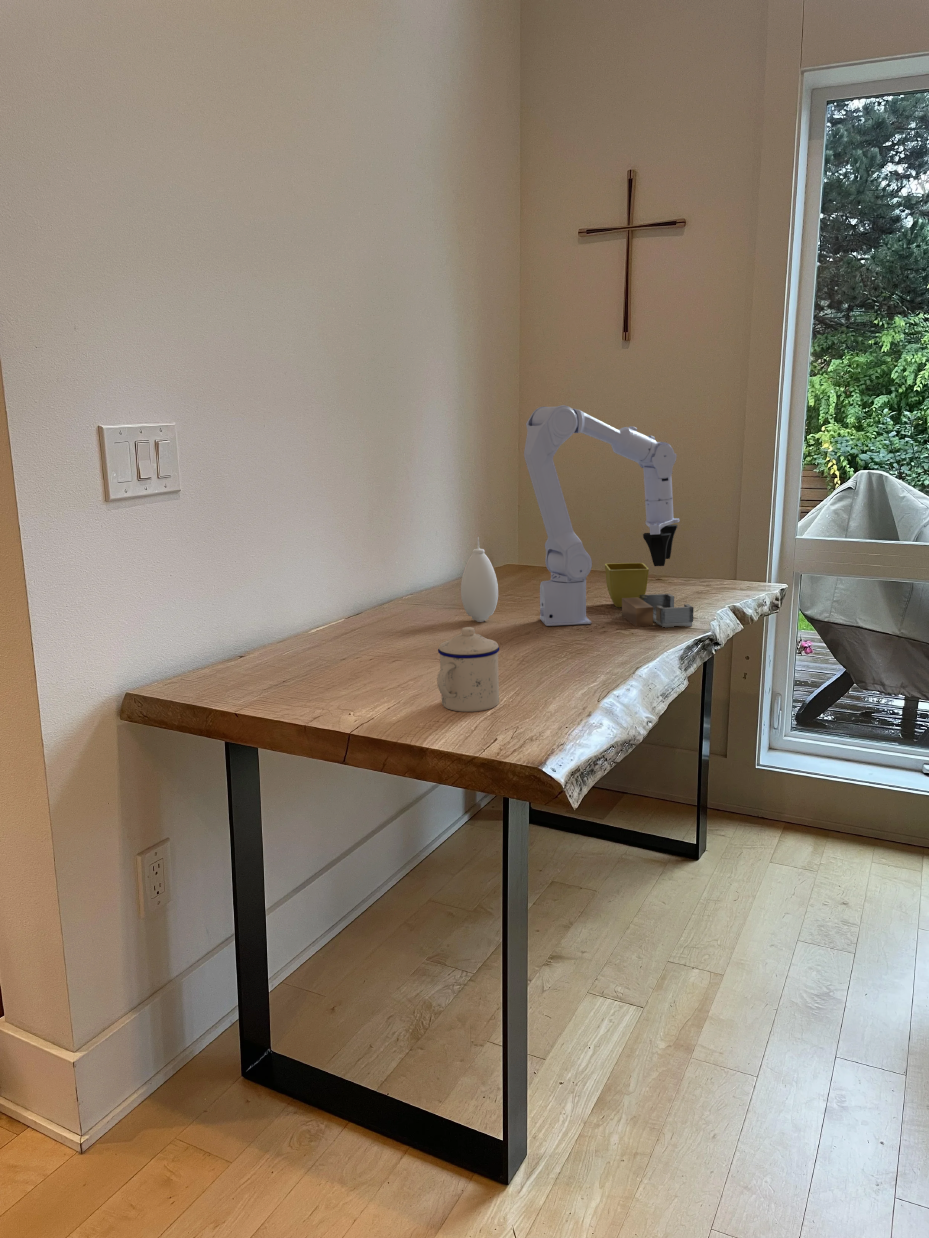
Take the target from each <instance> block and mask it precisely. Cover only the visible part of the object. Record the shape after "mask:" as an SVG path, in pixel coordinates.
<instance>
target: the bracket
mask: <svg viewBox="0 0 929 1238" xmlns="http://www.w3.org/2000/svg"><path fill="white" fill-rule="evenodd" d="M639 598H640V599H641V600H643V601H644V602H646V603H647V604H649V605H651V606H652V607H653V623H655V622H656V623H655V624H657V625H658V626H660V627H661V626H662V627H661V628H663V627H665V628H675V627H674V626H685V627H692V626H693V623H694V606H692V605H690V603H689V604H688V603H686V604H685V603H684V604H683V605H684V606H676V607H675V595H673V594H671V593H655V594H654V593H652V594H651V593H650V594H645V595H640V597H639Z"/></svg>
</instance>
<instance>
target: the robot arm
mask: <svg viewBox="0 0 929 1238" xmlns="http://www.w3.org/2000/svg"><path fill="white" fill-rule="evenodd" d="M525 426H526V433H527V434H526V439H525V445H524V451H523V457H524V460H525V464H526V468H527V471H528V474H529V477H530V481H531V484H532V488H533V491H534V495H535V498H536V499H535V500H536V501H537V505H538V507H539V511H540V515H541V518H542V521H543V527H544V529H545V532H546V535H547V539H546V541H545V542H544V548H545V558H544V559H545V560H544V561H545V562H544V563H545V567H546V569H547V570H548V572H550V579H549V580H543V581H541V582H540V586H539V612H540V613H539V615H540V616H539V619H540V620H541V622H542V623H543V624H544V625H545V626H547V627H551V626H552V627H553V626H555V627H556V626H572V625H590V624H592V620H590V619H589V618H588V617H587V577H588V576H589V574H590V572H591V571H592V568H593V567H592V566H593V561H592V557H591V555H590V554H589V553H588V552H587V551H586V549H585V547H584V545H583V544H584V543H583V541H582V540H581V539H580V538H579V536H578V535H577V534H576V533H575V531H574V528H573V524H572V521H571V518H570V514H569V511H568V507H567V503H566V500H565V497H564V493H563V489H562V486H561V483H560V479H559V476H558V472H557V468H556V465H555V462H554V457H555V455H556V454H557V451H558V450H559V448H560V447H561V446H562V445H563V444H564V443H565V442H566V441H568V439H569V438H570V437H572V436H573V434H584V435H585V436H588V437H591V438H593V439H596V440H599V441H602V442H604V443H606V444H609V445H610V446H611V449H612V451H613V453H614V454H617V455H619V456H621V457H623V458H626V459H628V460H630V461H633V462H635V463H637V464H638V466H639V467H640V468H641V469H642V470H643V485H644V487H643V488H644V502H645V519H646V520H645V521H644V522H645V523H644V524H645V525H646V526H647V527H648V528H649V532H643V533H642V537H643V539H644V541H645V542H646V545H647V546H648V550H649V553H650V557H651V560H652V563H653V566H654V567H664V566H665V565H666V560H670V559H671V556H672V547H673V541H674V537H675V534H676V532H677V529H678V524H676V523H679V522H681V521H680V518H679V517H677V518H675V517H674V516H675V515H674V499H673V498H674V497H673V481H672V480H673V479H672V475H673V467H674V465H675V464H676V460H677V457H678V455H677V453H675V451H674V448H673V447H672V445H671V444H670V443H669V442H665V441H656V437H655V436H653V435H645V434H644V433H641V432H639V431H637V430H638V428H637V427H635V426H632V425H630V426H624V427H621V428H619V429H617V428H615V427H614V426H611V425H609V424H608V423H606V422H603V421H602V420H599V419H598V418H596V417H594V416H592V415H590V414H588V413H586V412H584V411H582V410H581V409H577V408H572V407H570V406H568V405H565V404H563V405H558V406H539V407H537V408H536V409H534V411H533V412H532V413H531V414H530V416H529V417H528V420H527V421H526V423H525Z"/></svg>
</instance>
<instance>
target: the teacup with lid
mask: <svg viewBox="0 0 929 1238" xmlns="http://www.w3.org/2000/svg"><path fill="white" fill-rule="evenodd" d="M460 632H461V633H460V634H456V635H455V636H453V637H452V638H451V639H448V640H445V641H443V642H442V643H440V644H439V646H438V649H437V652H438V654H439V667H440V668H439V672H438V673H437V678H436V680H437V688H438V690H439V691H438V692H439V693H440V696H441V697H440V698H441V705H442V706H443V707H444V708H445V709H448V710H451V711H454V712H463V713H466V712H467V713H474V712H476V713H477V712H482V711H487V710H490V709H493V708H495V707H496V706H497V705H498V704H499V703H500V690H499V689H500V687H499V684H500V682H499V680H500V679H499V651H500V647H499V644H498V643H497V641H496V640H493V639H491V638H486V637H484V636H483V635H481V634H479V633H476V630H475V628H474V627H471V626H467V627H462V628H461V631H460Z"/></svg>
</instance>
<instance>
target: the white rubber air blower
mask: <svg viewBox="0 0 929 1238" xmlns="http://www.w3.org/2000/svg"><path fill="white" fill-rule="evenodd" d="M476 540H477V541H476V548H474V549H472V551H471V552H472V554H471V555H470V557H468V558H467V559H468V560H467V562H466V564H465V567H464V570H463V573H462V576H461V583H460V597H461V598H460V599H461V601H462V602H461V603H462V606H463V609H464V611H465V612H466V615H467V616H469V617H471V620H473V621H475V622H477V623H483V622H486V621H487V620H489V619H490V618H489V617H490V616H493V614H494V612H495V610H496V608H497V605H498V598H499V585H498V579H497V575H496V571H495V568H494V567H493V564H492V562H491V560H490V559H489V557H488V556H487V555H486V553H485V552H486V550H485V549H484V548H481V547H480V538H479V536H477V538H476Z"/></svg>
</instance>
